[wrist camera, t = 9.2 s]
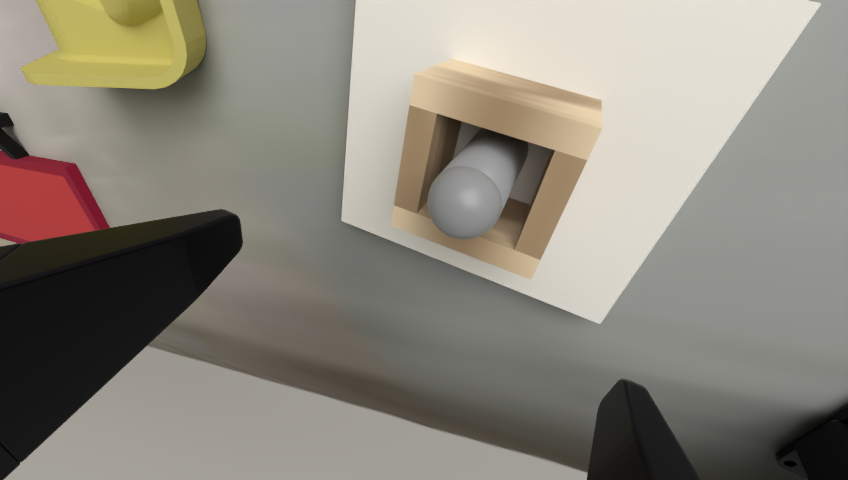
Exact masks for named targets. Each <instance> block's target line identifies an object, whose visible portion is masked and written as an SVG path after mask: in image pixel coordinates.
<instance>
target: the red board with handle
mask: <svg viewBox="0 0 848 480" xmlns="http://www.w3.org/2000/svg"><path fill="white" fill-rule="evenodd" d="M10 125H14V124H13V122H12V120H11V118H10V117H9V115H8V113H1V112H0V149H1V150H2V151H0V238H2V239H6V240H9V241H13V242H16V243H19V244H23V243H25V242H31V241H37V240H43V239H48V238H54V237H60V236H66V235H72V234H78V233H84V232H90V231H95V230H101V229H107V228H110V227H109V225H108V224H107V222H106V220H105V218H104V216H103V214H102V212H101V210H100V208H99V207H98V205H97V203H96V201H95V199H94V197H93V195H92V193H91V191H90V190H89V188H88V186H87V184H86V182H85V180H84V178H83V176H82V175H81V173H80V171H79V169H78V167H77V165H76V164H74V163H68V162H63V161H57V160H51V159H46V158H40V157H35V156H29V154H28V153H27V152H25V151H24V150H23V149H22V148H21V147H20V146H19V145H18V144H17V143H16V142H15V141H14V140H13V139H12V138H11V137H10V136H9V135H8V134H7V133H6V132H5V131H4V130H3V129H1V127H6V126H10Z"/></svg>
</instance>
